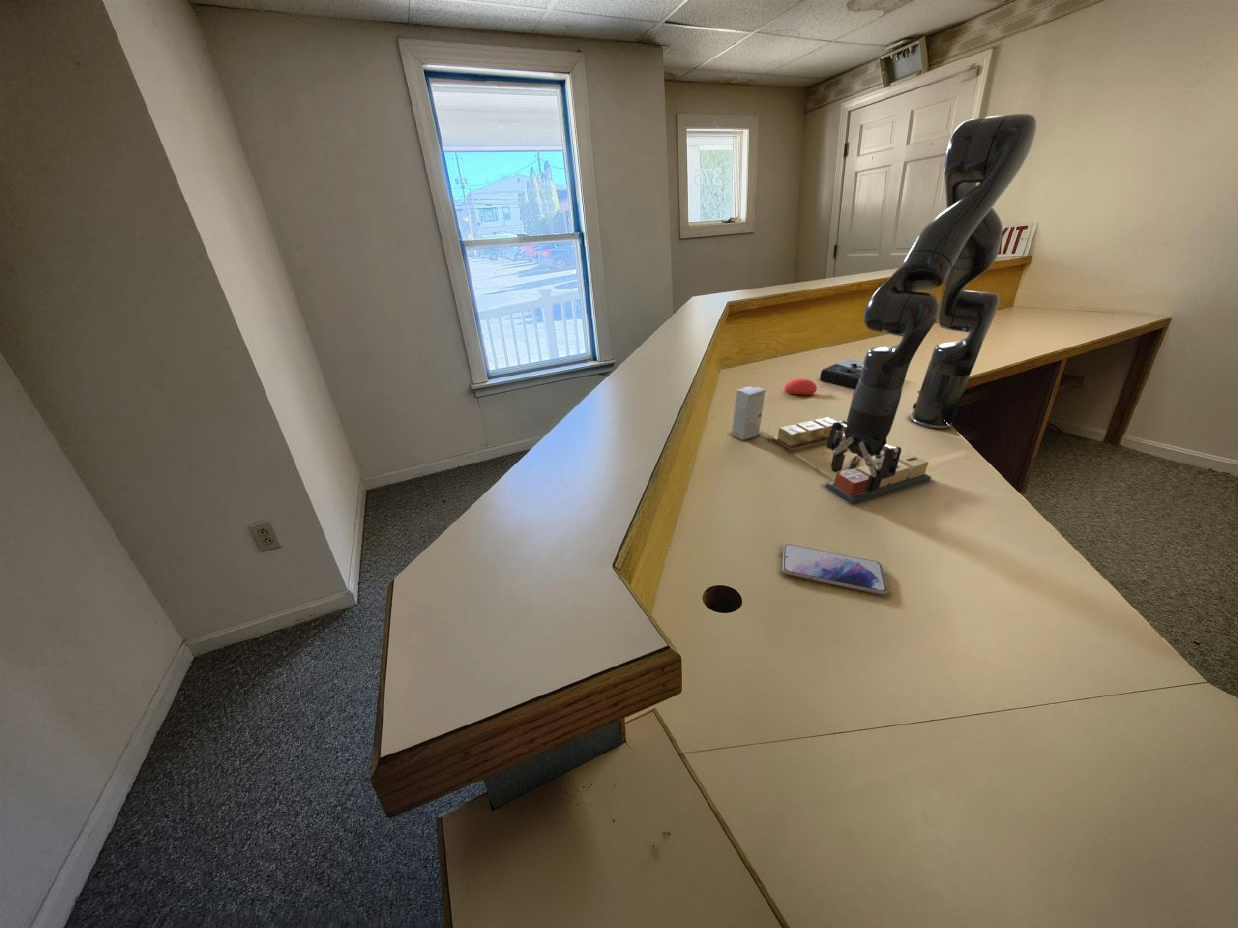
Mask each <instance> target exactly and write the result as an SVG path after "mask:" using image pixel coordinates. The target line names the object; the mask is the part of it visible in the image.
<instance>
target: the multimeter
mask: <svg viewBox="0 0 1238 928" xmlns="http://www.w3.org/2000/svg"><path fill="white" fill-rule="evenodd" d="M863 363H864V361H861V360H857V359H853V358H845V359H842V360H841V361H838V362H836V363H834V364H832V365H829V366H828V367H825V368H822V370H821V372H820V376H819V380H820V381H822V382H823V381H824V382H827V383H830V384H835V385H838V386H843V387H847V388H850V389H854V390H855V389H856V386H857V384H858V381H859V378H860V374H861V371H862V367H863Z"/></svg>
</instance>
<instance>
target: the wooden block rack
mask: <svg viewBox="0 0 1238 928" xmlns="http://www.w3.org/2000/svg"><path fill="white" fill-rule="evenodd" d="M928 465H929V461H926V460H925V459H924V458H921V457H919V456H916V455H915V454H912V453H911V452H909V453H908V452H907V453H906V454H900V458H899V461H898V465H897V469H896V473H895V475H894V476H892V477H888V478H885V479H882V480H881V483H880V486H879V489H878V490H875V491H873V492H870V493H868V492H863V493H859V494H856V495H853V496H850V495H848V494H847V493H845V492H843V491H842V490H840V489H839V488H837V487H836V486H834V485H833V484H834V481H835V480H833V481H829V482H826V484H825V488H827V489H828V490H830V491H831V492H833V493H835V494H836V495H837V496H839V497H840V498H842V499H843V500H845V501H846V502H848V503H850V504H851V505H856V504H858V503H861V502H865V501H869V500H872V499H874V498H879V497H882V496H885V495H888V494H891V493H895V492H897V491H900V490H904V489H907V488H911V487H915V486H917V485H920V484H923V483H926V482H930V481H931V479H932V476H931V475H929V474H927V473H926V471H927V468H928ZM876 468H877V466H876ZM855 470H857V471H859V472H861V473H863V474H864V475H866V476H867V477H869V475H871V473H870V470H869V467H868V466H867V465H866V464H863V465H861V466H857V467H856V468H855ZM877 470H878V469H877Z"/></svg>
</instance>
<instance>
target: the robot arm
mask: <svg viewBox="0 0 1238 928" xmlns="http://www.w3.org/2000/svg"><path fill="white" fill-rule="evenodd" d="M1036 129H1037V120H1036V118H1035V116H1034V115H1032V114H1029V113H1028V114H1027V113H1017V114H1014V113H1013V114H1005V115H1004V114H1003V115H995V116H983V117H977V118H971V119H968V120H965V121H963V122H962V123H960V124H959V125H958V126H957V127H956V128H955V130H953V133H952V135H951V137H950V138H949V142H948V145H947V147H946V153H945V159H944V173H943V175H944V190H945V202H946V204H945V205H946V209H945V210H944V211H943V212H941V213H939V215H937V216H936V217H935V218H934V219H933V220H931V221H930V222H929V223H928V224H927V225H926V226H925V227H924V228H923V229H922V231H921V232H920V233H919V234H918V236H917V237H916V239H915V240H914V243H913V244H912V246H911V248H910V250H909V252H908V253H907V255H906V257H905V259H904V261H903V262H902V264H900V266H899V267H898V268H897V269H896V270H895V271H894V272H893V273H892V275H891V276H890V277H889V278H888V279H887V280H886V281H885V282H884V283H883V284H881V285H880V287H879V288H878V289H877V290H876V291H875V292H874V293H873V294H872V296H871V297H870V299H868V301H867V303H866V306H865V308H864V312H863V323H864V326H865V328H866V329H868V330H869V331H870V332H873V333H879V334H885V335H889V336H890V335H891V336H895V337H902V338H901V340H900V342H899V343H898V344H897V345H885V346H884V345H883V346H874V347H871V348H870V349H869V350H867V352H866V353H865V355H864V359H863V362H864V363H863V367H862V371H861V374H860V378H859V381H858V384H857V386H856V389H854V391H853V395H852V398H851V402H850V407H849V411H848V414H847V419H846V420H839V421H837V422H835V423H833V425H832V428H831V431H830V435H829V438H828V440H827V442H826V448H827V449H829V450H831V453H832V458H831V462H830V467H831V469H830V470H831V471H832V472H833V473H838V472H841V471H842V469H843V466H844V462H845V458H846V454H845V453H847V452H848V451H849V452H850V453H852V454H855V455H856V456H859V458H860V459H863V461H864V465H867V466H868V467H869V470H870V473H871V475H869V479H868V482H867V485H866V488H865V491H866V492H868V493H870V492H873V491H875V490H878V489H879V486H880V483H881V480H882V479H885V478H888V477H892V476H894V475H895V473H896V469H897V465H898V461H899V458H900V456H901V455H902V448H901V446H892V445H889V444H888V443H887V437H888V436H889V434H890V432H891V430H892V428H893V424H894V421H895V418H896V414H897V411H898V408H899V405H900V402H901V398H902V392H903V387H904V384H905V380H906V377H907V373H908V371H909V368H910V364H911V362H912V360H913V358H914V357H915V354H917V353H916V352H917V351H918V350H919V347H920V346H921V344H922V343H923V341H924V340H925V338H926V337H927V335H928V334H929V332H930V331H931V330H932V328H934V327H933V326H934V325H935V323H936V322H937V323H938V326H939V327H940V328H941V329H944V330H948V331H954V332H960V333H967V334H968V335H967V337H965V338H963V339H960V340H957V341H951V342H944V343H939V344H937V345H936V346H935V347H934V348H933V351H932V353H931V357H930V359H929V363H928V365H927V369H926V372H925V374H924V377H923V380H922V384H921V386H920V389H919V393H918V395H917V399H916V401H915V403H913V405H912V408H911V410H912V413H911V415H910V420H911V421H912V422H913V423H915V424H917V425H919V426H922V427H925V428H930V429H943V430H944V429H948V428H950V426H951V427H952V425H953V423H954V421H955V419H956V416H957V413H958V411H959V408H960V405H961V403H962V400H963V397H964V395H965V392H966V387H967V384H968V382H969V379H970V377H971V374H972V371H973V369H974V367H975V364H976V362H977V359H978V356H979V353H980V351H981V349H982V346H983V344H984V340H985V338H986V336H987V334H988V331H989V330H990V327H991V325H992V323H993V320H994V319H995V316H996V314H997V313H998V312H997V311H998V309H999V305H1000V296H999V294H998V293H995V292H988V291H976V290H966V289H964V288H965V287H966V286H967V285H968V284H969V283H972V281H974V280H975V279H977V278H978V277H979V276H981V275H982V274H983V273H985V272H986V271H987V270H988V269H989V268H990V267H991V266H992V265H993V264H994V262H995V261H996V260H997V258H998V256H999V253H1000V250H1001V249H1000V248H1001V243H1002V238H1003V231H1004V227H1003V222H1002V220H1001V218H1000V216H999V214H998V213H997V211H996V210H995V209H994V206H995V205H996V203H997V202H998V200H999V199H1000V198H1001V196H1002V195H1003V193H1005V191H1006V190H1007V188H1008V187H1009V185H1010V184H1011V183H1012V181H1013V180H1014V179H1015V178H1016V176H1017V175H1018V173H1019V172H1020V170H1021V168H1022V167H1023V165H1024V164H1025V162H1026V160H1027V158H1028V156H1029V154H1030V151H1031V148H1032V146H1033V143H1034V139H1035V136H1036ZM941 285H942V289H941V295H940V300H939V299H938V297H937V296H936V295H935V294H933V293H930V292H925V291H932V290H934V289H937V288H939V287H940V286H941ZM944 420H945V421H944ZM946 422H947V423H948V424H949V425H950V426H949V425H947V424H946ZM843 433H844V434H845V436H843ZM842 436H843V437H845V440H844V441H842V439H843V437H842ZM873 457H875V458H874V459H873ZM876 466H877V468H876ZM877 469H878V470H877Z"/></svg>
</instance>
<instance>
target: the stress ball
mask: <svg viewBox="0 0 1238 928" xmlns="http://www.w3.org/2000/svg"><path fill="white" fill-rule="evenodd" d="M817 388H818V387H817V384H816V383H815V382H814V381H813V380H811V379H808V378H799V377H798V378H794V379H791V380H788V381H787V382H785V384H784V386H783V390H784V392H786V393H788V394H790V395H803V396H810V395H813V394H815V393H816V392H817V390H818V389H817Z"/></svg>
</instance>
